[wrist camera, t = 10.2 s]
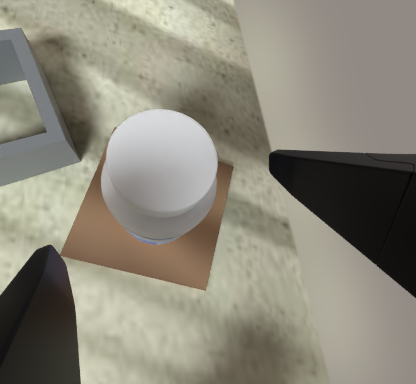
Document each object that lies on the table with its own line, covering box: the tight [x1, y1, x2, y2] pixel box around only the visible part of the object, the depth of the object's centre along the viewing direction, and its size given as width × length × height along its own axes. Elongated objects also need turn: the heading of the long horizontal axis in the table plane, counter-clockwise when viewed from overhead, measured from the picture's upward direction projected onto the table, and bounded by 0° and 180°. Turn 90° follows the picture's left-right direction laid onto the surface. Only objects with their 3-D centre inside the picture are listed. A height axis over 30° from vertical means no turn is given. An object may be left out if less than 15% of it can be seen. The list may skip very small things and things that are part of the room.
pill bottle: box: [101, 109, 218, 244], centre depth 13 cm, size 6×5×10 cm
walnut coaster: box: [60, 127, 233, 291], centre depth 18 cm, size 10×10×1 cm
